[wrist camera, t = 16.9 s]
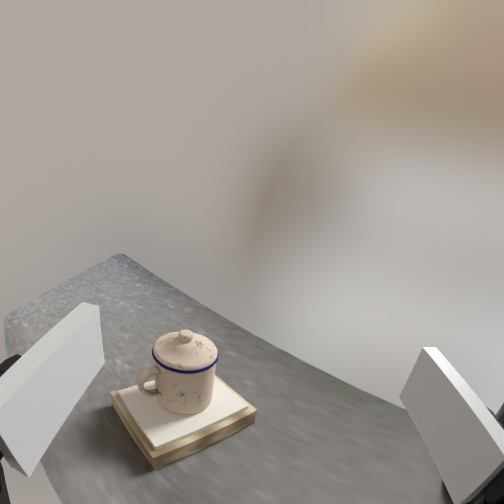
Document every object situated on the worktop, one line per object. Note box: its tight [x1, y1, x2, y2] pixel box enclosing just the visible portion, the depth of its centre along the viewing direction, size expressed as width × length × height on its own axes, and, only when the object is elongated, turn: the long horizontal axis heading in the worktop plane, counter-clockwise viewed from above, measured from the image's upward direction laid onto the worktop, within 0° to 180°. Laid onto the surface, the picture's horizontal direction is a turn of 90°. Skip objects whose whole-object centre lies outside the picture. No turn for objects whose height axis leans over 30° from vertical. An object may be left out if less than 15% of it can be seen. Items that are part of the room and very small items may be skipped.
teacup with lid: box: [137, 330, 218, 414], centre depth 38 cm, size 12×9×12 cm
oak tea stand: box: [110, 375, 257, 470], centre depth 40 cm, size 18×14×4 cm
